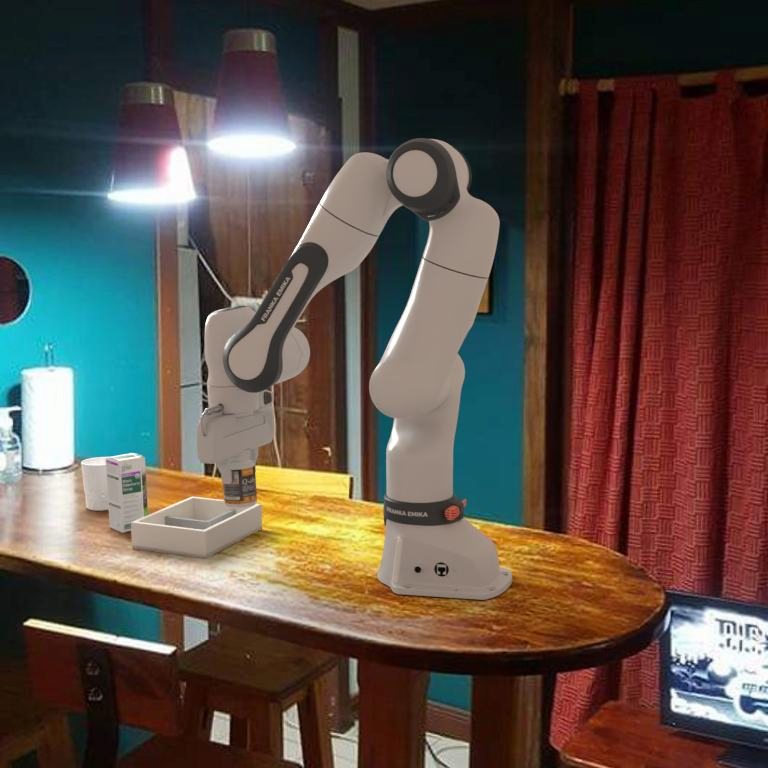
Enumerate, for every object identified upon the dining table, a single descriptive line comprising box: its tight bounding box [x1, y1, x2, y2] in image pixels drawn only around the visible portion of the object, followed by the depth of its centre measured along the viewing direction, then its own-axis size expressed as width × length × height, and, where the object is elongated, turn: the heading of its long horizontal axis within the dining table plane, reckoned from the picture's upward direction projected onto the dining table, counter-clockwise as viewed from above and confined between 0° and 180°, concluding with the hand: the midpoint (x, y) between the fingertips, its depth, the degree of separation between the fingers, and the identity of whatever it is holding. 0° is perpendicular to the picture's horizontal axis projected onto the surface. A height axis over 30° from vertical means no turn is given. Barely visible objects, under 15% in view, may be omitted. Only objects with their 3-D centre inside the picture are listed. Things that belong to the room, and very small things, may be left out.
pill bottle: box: [222, 448, 258, 508], centre depth 181 cm, size 6×6×10 cm
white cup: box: [81, 456, 109, 512], centre depth 220 cm, size 8×8×10 cm
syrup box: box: [106, 452, 149, 534], centre depth 203 cm, size 6×6×14 cm
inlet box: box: [130, 496, 263, 559], centre depth 197 cm, size 16×20×5 cm
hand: (239, 478), depth 181 cm, fingers closed on pill bottle, 6 cm apart
